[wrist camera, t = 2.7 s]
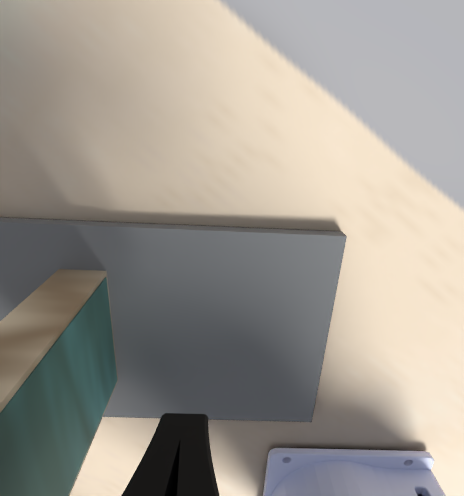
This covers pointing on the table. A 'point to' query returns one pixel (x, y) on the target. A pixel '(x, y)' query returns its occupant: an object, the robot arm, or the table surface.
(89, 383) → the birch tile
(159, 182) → the table surface
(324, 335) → the rubber mat
